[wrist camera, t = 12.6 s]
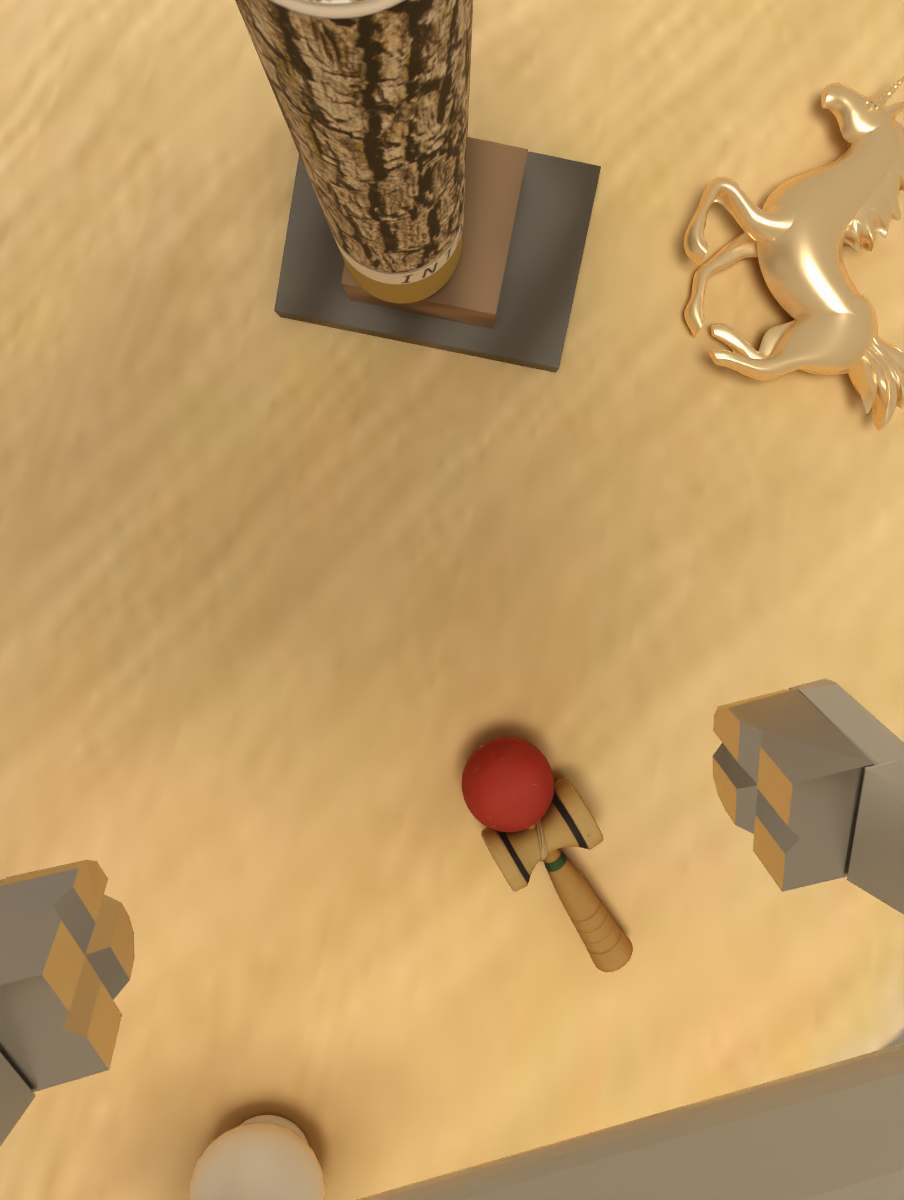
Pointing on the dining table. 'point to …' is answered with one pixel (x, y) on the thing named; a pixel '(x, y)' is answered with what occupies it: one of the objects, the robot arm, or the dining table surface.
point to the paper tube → (377, 127)
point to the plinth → (522, 284)
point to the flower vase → (259, 1164)
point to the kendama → (541, 835)
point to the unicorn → (816, 257)
